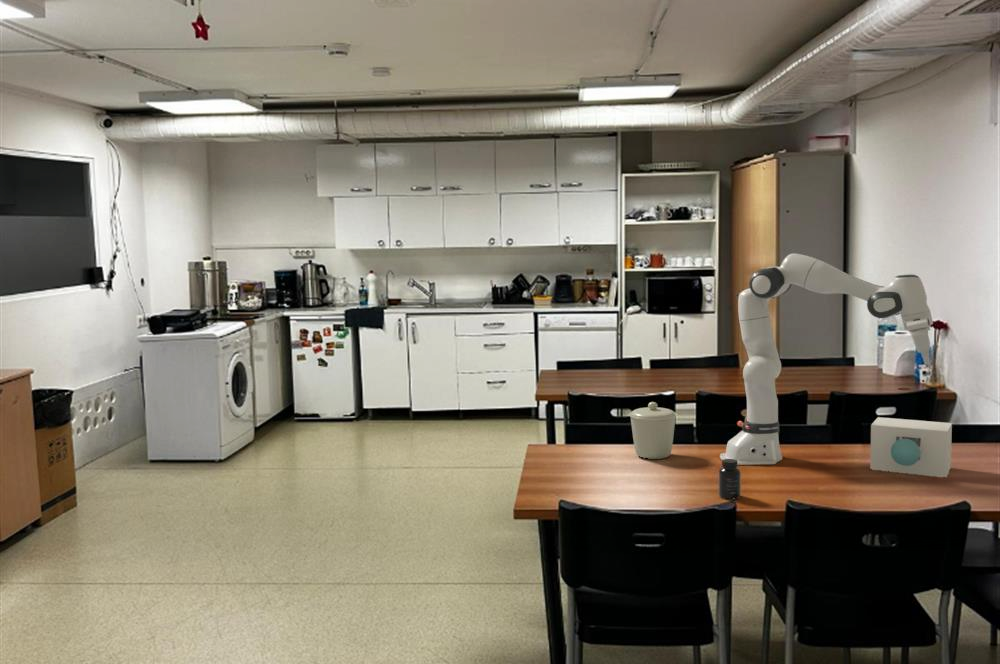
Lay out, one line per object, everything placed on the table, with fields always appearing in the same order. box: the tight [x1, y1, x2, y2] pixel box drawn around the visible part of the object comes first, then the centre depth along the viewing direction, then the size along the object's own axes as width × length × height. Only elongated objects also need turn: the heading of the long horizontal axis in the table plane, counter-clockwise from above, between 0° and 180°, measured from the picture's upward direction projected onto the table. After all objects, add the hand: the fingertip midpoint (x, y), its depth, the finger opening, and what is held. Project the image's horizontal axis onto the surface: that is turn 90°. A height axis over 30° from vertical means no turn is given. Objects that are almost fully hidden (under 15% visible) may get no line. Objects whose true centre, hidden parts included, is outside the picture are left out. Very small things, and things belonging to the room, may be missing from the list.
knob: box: [891, 437, 921, 466], centre depth 302 cm, size 14×9×9 cm, turn 148°
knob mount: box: [869, 416, 953, 479], centre depth 308 cm, size 14×24×16 cm, turn 58°
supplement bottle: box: [718, 459, 742, 500], centre depth 282 cm, size 7×7×12 cm
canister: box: [628, 401, 678, 460], centre depth 335 cm, size 18×18×21 cm
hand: (927, 362), depth 290 cm, fingers open, 8 cm apart
